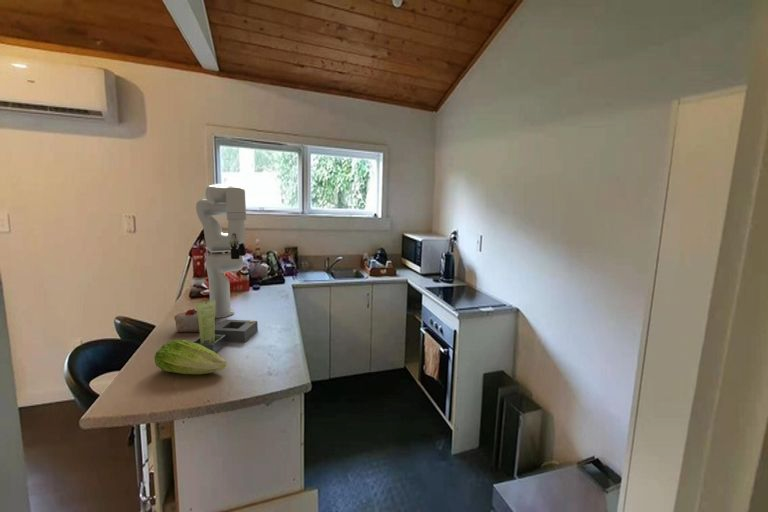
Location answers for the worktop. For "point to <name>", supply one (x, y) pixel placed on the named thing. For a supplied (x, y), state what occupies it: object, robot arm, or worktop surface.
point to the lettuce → (188, 358)
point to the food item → (187, 321)
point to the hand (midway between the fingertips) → (238, 257)
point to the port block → (237, 330)
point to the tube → (206, 321)
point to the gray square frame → (217, 345)
